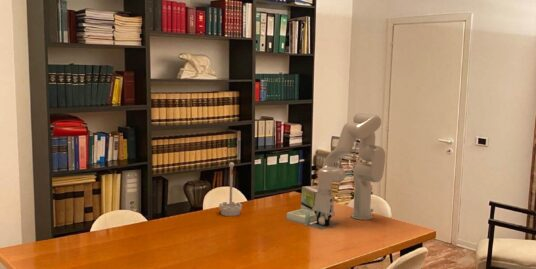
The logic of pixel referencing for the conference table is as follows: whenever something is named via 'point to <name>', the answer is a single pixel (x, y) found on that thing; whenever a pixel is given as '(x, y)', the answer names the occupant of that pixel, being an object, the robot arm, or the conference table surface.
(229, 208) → the flag stand
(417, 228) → the conference table surface
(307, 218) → the post near
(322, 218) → the ball
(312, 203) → the tea box
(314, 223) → the mat
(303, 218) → the tray
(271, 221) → the conference table surface
